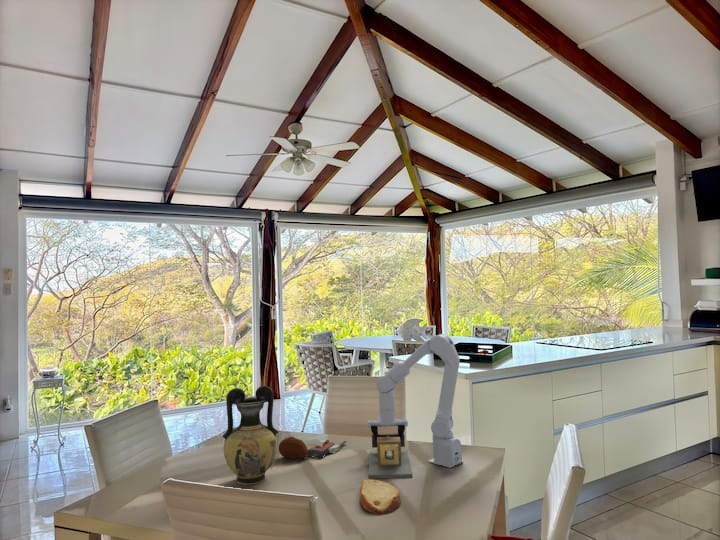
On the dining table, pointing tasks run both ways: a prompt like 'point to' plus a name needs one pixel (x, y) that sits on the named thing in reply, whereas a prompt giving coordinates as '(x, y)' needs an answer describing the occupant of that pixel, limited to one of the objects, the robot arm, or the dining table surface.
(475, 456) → the dining table surface
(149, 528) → the dining table surface
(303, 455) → the potato
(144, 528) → the dining table surface
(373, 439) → the grey and silver t-piece
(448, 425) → the robot arm
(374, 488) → the slice of bread
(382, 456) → the collar
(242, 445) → the amphora
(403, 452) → the mat
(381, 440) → the bearing block
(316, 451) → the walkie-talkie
